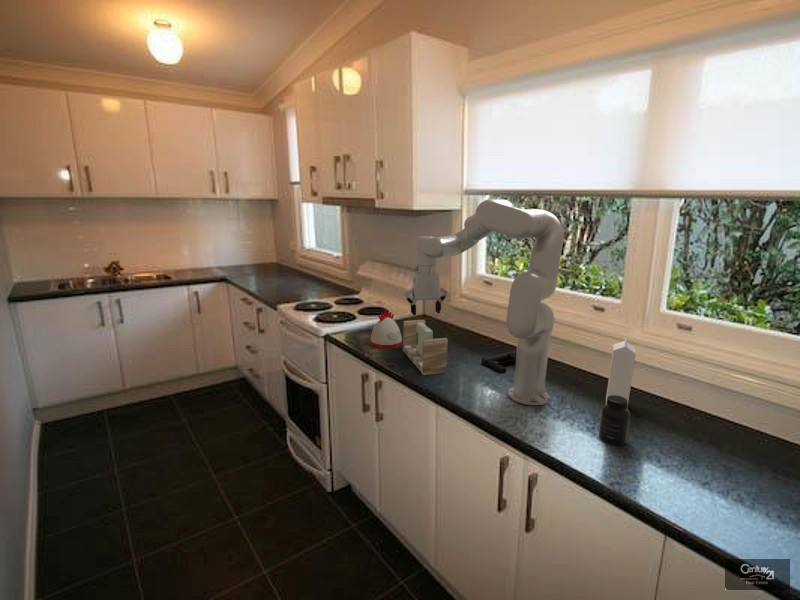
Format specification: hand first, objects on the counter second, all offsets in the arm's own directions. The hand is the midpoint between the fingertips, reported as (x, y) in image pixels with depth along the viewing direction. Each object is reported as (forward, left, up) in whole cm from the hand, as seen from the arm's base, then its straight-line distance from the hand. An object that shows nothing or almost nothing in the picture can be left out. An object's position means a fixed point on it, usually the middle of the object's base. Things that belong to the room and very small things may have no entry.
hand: (425, 313), depth 163 cm
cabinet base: (+1, 0, -20) cm, 20 cm away
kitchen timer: (+25, +9, -20) cm, 33 cm away
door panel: (0, 0, -19) cm, 19 cm away
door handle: (-12, -32, -20) cm, 39 cm away
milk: (-49, -47, -20) cm, 71 cm away
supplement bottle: (-65, -31, -20) cm, 75 cm away
